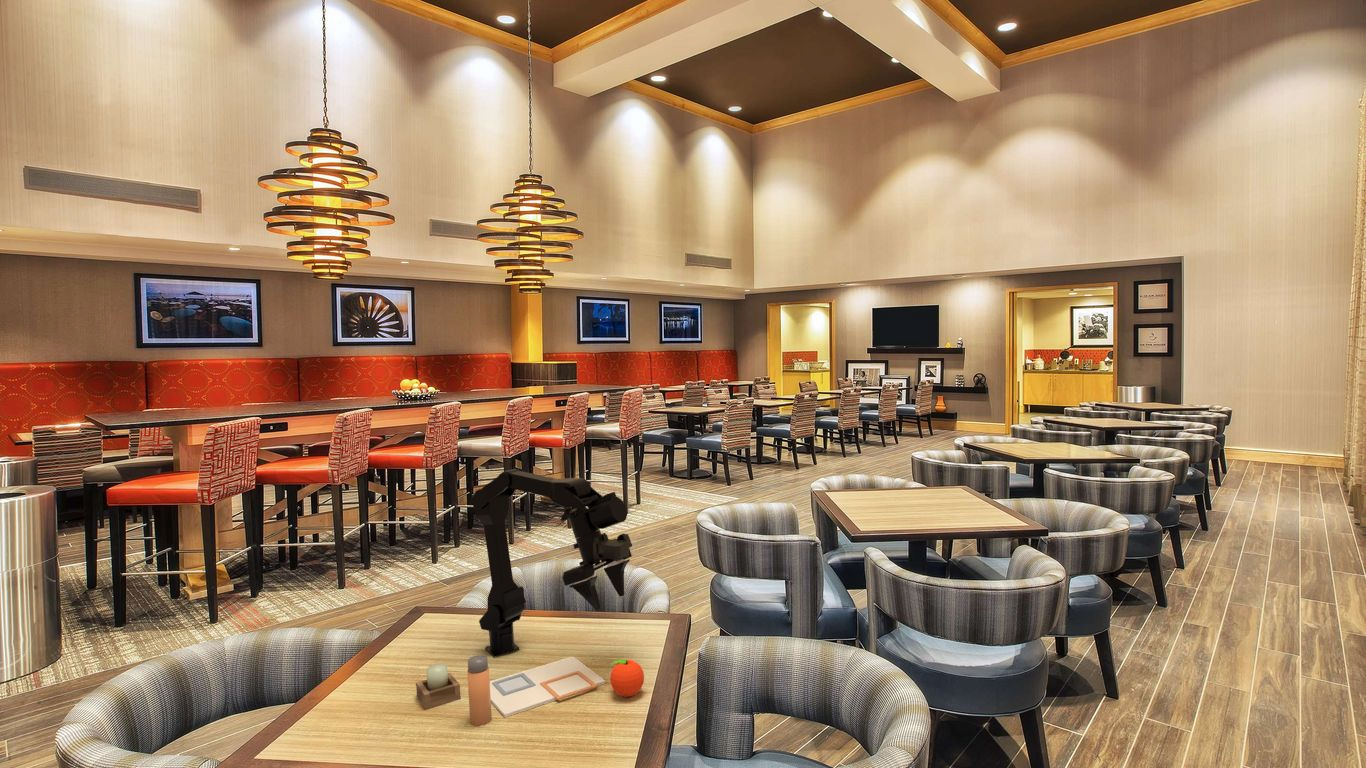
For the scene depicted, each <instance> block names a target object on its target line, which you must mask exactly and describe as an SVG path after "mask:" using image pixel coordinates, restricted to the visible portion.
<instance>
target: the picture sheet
mask: <svg viewBox="0 0 1366 768" xmlns="http://www.w3.org/2000/svg"><path fill="white" fill-rule="evenodd" d="M605 684H606V680H605V679H603V678H602V677H601V676H600V675H598V674H597V673H596V672H594V671H593V670H591V669H590V668H589V667H588V666H586V665H585V664H584V663H582V662H581V661H580V660H579V659H577V658H576V657H574V656H568V657H565V658H562V659H559V660H556V661H552V662H549V663H546V664H543V665H539V666H536V667H532V668H530V669H526V670H523V671H519V672H516V673H513V674H510V675H509V674H508V675H507V676H503V677H500V678H496V679H493V680H490V697H491V705H493V706H494V707H495V708H496V709H497V711H498V712H499V713H500V714H501V715H502V717H504V718H508V717H511V716H513V715H516V714H519V713H522V712H525V711H528V710H530V709H534V708H537V707H540V706H542V705H543V706H544V705H545V704H549V703H552V702H554V701H560V700H564V699H565V698H569V697H572V696H575V695H578V694H580V693H584V692H586V691H590V690H592V689H595V688H598V687H599V686H603V685H605Z"/></svg>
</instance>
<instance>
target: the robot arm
mask: <svg viewBox="0 0 1366 768" xmlns="http://www.w3.org/2000/svg"><path fill="white" fill-rule="evenodd" d="M516 491H521V492H525V493H529V494H534V495H537V496H542V497H544V498H548V499H550V500H551V501H552V502H553V504H555V505H558V506H560V507H562V508H565V509H564V512H563V514H562V515H561V518H560V521H561V522H565V521H567V520H569V524H570V526H571V529H572V531H573V535H574V538H575V541H576V543H574V544H572V545H573V549H574V550H575V549H578V551H579V553H580V557H581V559H582V561H579V562H578V564H579V565H578V566H574V567H572V568H570V569H567V570H565V571H564V572H563V573H562V575H561V579H562V581H563V584H564V586H565V587H566V586H568V587H569V588H570V589H571V588H572V589H574V590H575V592H577V593H578V594H579V595H580V596H581V597H583V599H585V600H586V601H587V603H588V604H589V605H590V606H591V607H592V608H593V609H594V610H595V611H599V610H601V608H602V607H601V603H600V599H599V594H598V591H597V588H596V582H597V579H598V575H595V572H596V571H597V570H599V569H601V568H603V567H604V568H603V571H604V572H605V575H606V576H607V578H608V580H609V581H610V584H611V585H612V586H613V588H614V590H615V592H616V593H617V595H618V596H619V597H623V596H624V597H625V569H626V567H627V565H628V564H629V563H630V561H631V560H630V559H629V558H631V557H633V556H632V552H631V548H632V547H633V543H632V540H631V538H630V536H629V534H628V533H621V534H618V536H617V538H613V539H611V538H610V539H609V537H608V533H607V534H606V532H604V533H602V532H601V530H603V529H606V528H609V527H613V526H615V525H618V524H622V523H623V522H625V521H626V520H627V518H628V509H627V505H626V503H624V501H623V500H622V498H620V497H618V496H617V495H616V492H615V491H612V492H608V493H607V494H604V495H602V494H601V493H599V492H598V491H597V490H595V489H594V488H593V487H592V486H590V484H589V481H588V480H587V479H585V478H583V477H569V478H568V477H566V478H554V477H550V476H545V475H541V474H535V473H531V472H526V471H522V470H520V469H517V468H513V469H508V470H504V471H502V472H501V473H500V474H498V476H496V477H495V478H494V479H493V480H492V481H490V482H488V483H487V484H486V485H484V486H483V487H482V488H479V489H477V490H476V491H475V492H474V493H473V495H472V496H471V502H472V506H473V510H474V514H475V517H476V518H477V520H478V521H479V522H480V523H481V524H482V525H483V528H484V529H483V530H484V536H485V544H486V545H485V546H486V550H487V551H486V552H487V557H488V558H487V559H488V565H489V572H490V574H489V575H490V579H491V587H490V590H489V593H488V597H487V610H486V611H485V613H484V614H483V615H482V616H481V617H480V619H479V621H478V623H479V626H480V629H481V630H482V631H488V637H489V638H488V639H489V645H486V646H485V647H484V650H486V651H487V653H488V654H490V655H491V656H492V657H493V658H495V657H500V656H502V655H507V654H510V653H514V652H517V651H520V646H518V645H517V644H516V643H515V636H514V635H515V634H514V623H516V622H517V621H519V620H520V619H521V615H522V613H523V611H524V610H525V604H526V603H527V601H526V597H525V589H524V586H523V585H521V586H518V584H517V583H516V582H515V581H514V579H513V578H514V577H513V571H512V565H511V564H512V563H511V557H510V556H511V555H510V551H509V542H508V536H507V529H506V528H507V527H506V520H507V517H508V513H509V512H510V498H512V496H513V495H514V494H516ZM600 529H601V530H600ZM605 566H606V567H605ZM594 575H595V576H594Z"/></svg>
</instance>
